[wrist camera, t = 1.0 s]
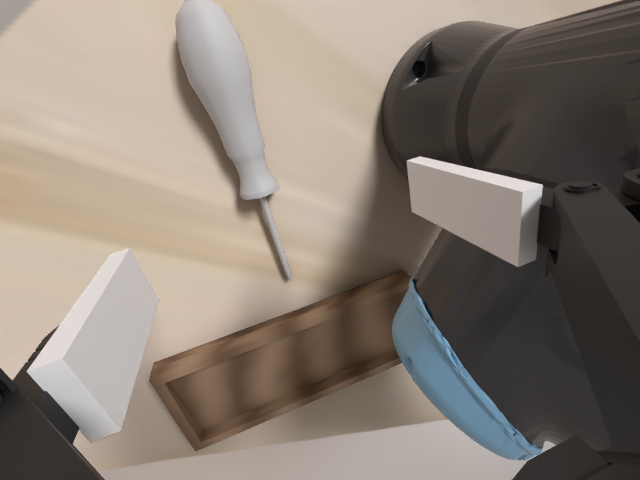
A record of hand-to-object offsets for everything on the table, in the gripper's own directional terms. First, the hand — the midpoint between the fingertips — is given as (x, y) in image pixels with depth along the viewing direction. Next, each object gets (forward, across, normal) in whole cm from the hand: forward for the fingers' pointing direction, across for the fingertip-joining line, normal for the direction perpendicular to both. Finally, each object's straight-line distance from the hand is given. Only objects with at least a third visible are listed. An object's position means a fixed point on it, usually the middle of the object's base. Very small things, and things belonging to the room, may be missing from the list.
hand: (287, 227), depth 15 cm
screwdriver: (+17, 0, 0) cm, 17 cm away
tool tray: (+16, +1, +23) cm, 28 cm away
